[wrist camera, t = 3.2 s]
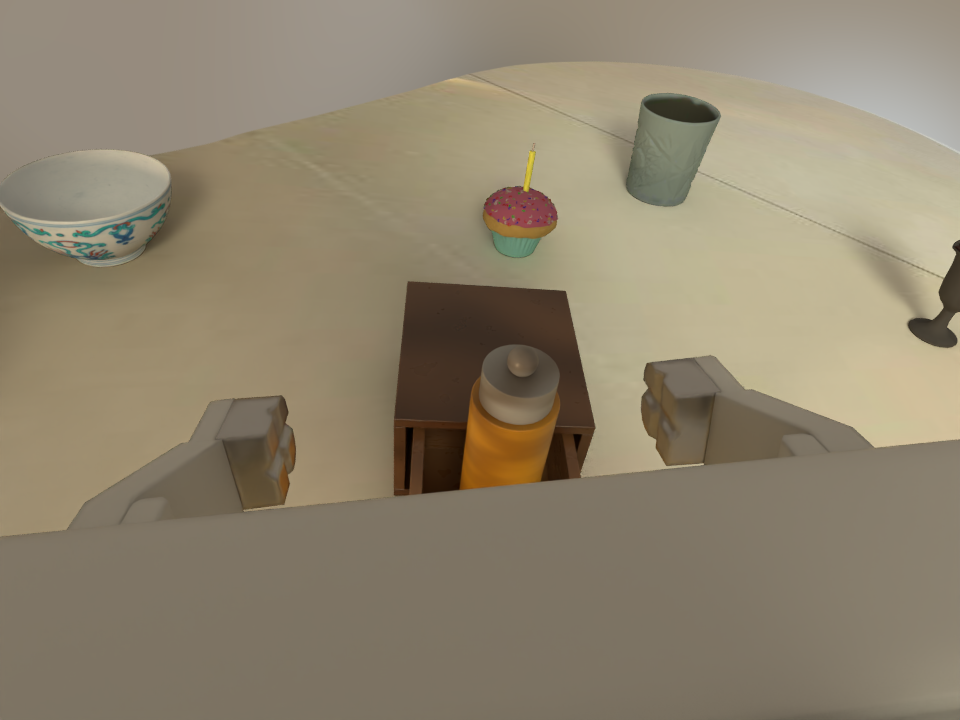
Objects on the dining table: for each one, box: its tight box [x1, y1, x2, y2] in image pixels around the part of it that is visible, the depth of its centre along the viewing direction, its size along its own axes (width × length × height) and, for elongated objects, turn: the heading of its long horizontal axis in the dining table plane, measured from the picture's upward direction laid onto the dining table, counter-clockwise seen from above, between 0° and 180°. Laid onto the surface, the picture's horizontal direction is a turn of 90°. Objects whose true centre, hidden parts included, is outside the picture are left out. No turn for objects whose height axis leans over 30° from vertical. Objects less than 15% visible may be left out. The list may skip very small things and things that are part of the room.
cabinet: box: [394, 281, 595, 496], centre depth 50 cm, size 16×14×9 cm
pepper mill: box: [459, 345, 560, 490], centre depth 37 cm, size 5×5×17 cm
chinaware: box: [0, 149, 172, 267], centre depth 63 cm, size 15×15×8 cm
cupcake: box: [483, 143, 558, 257], centre depth 70 cm, size 9×8×12 cm
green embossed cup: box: [626, 93, 721, 206], centre depth 84 cm, size 10×10×12 cm
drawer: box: [409, 427, 581, 495], centre depth 40 cm, size 19×12×7 cm, turn 2°
